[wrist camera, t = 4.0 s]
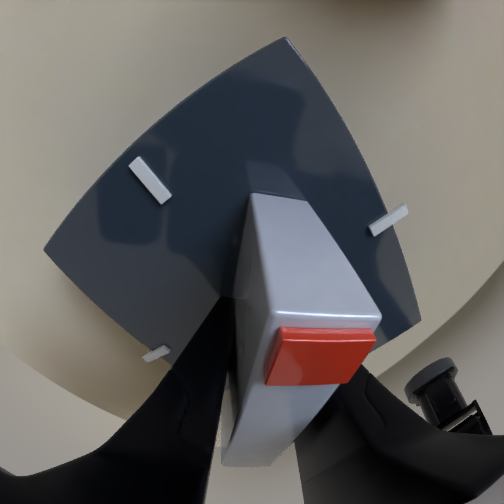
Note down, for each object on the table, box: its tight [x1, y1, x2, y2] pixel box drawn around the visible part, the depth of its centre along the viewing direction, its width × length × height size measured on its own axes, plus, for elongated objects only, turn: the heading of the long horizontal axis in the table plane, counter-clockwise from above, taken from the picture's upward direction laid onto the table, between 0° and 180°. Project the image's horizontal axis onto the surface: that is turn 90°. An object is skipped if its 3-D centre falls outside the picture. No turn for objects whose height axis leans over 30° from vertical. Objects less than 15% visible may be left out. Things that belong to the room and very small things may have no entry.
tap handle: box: [221, 193, 382, 467], centre depth 7 cm, size 7×2×5 cm, turn 170°
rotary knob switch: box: [44, 37, 421, 366], centre depth 10 cm, size 12×11×3 cm
